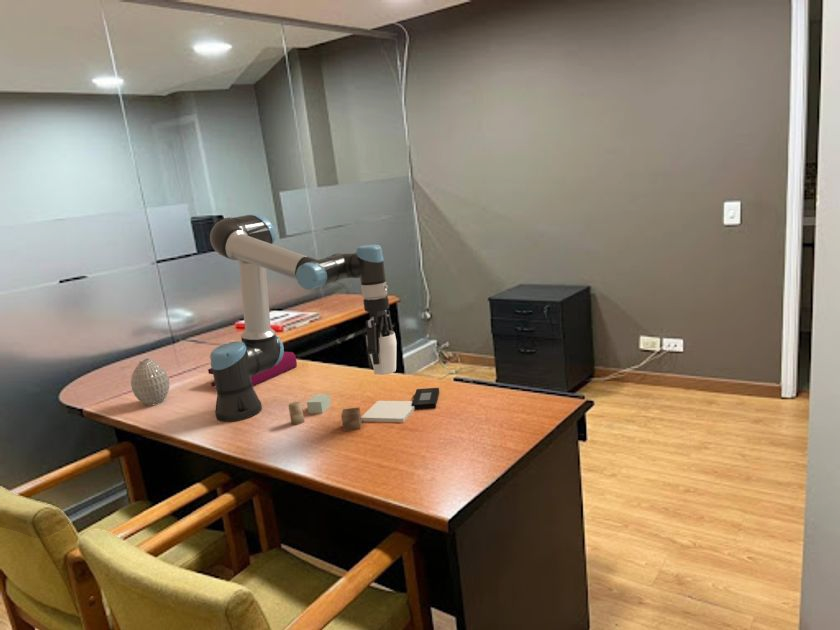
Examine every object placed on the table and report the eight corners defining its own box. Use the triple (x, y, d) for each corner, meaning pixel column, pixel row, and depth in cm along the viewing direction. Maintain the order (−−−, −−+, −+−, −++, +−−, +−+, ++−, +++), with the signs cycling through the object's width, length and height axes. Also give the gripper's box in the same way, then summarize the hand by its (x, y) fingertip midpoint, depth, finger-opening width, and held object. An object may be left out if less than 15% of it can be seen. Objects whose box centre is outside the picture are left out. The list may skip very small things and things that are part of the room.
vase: (130, 405, 231) (120, 362, 228) (163, 394, 240) (154, 352, 236) (144, 411, 222) (135, 367, 219) (178, 399, 231) (169, 356, 228)
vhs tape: (412, 411, 195) (411, 405, 194) (417, 394, 208) (416, 389, 208) (435, 409, 194) (435, 403, 193) (439, 393, 207) (438, 387, 207)
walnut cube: (343, 431, 184) (341, 415, 183) (345, 424, 189) (343, 409, 188) (360, 429, 184) (358, 413, 183) (361, 422, 189) (359, 407, 188)
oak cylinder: (289, 424, 194) (286, 406, 193) (295, 419, 198) (292, 401, 196) (300, 425, 193) (297, 406, 191) (306, 419, 196) (303, 402, 195)
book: (298, 368, 255) (295, 350, 254) (246, 391, 233) (242, 372, 231) (262, 364, 267) (259, 348, 265) (209, 387, 244) (205, 368, 243)
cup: (396, 375, 186) (391, 337, 183) (367, 376, 188) (362, 338, 185) (402, 366, 194) (398, 329, 192) (375, 367, 196) (370, 330, 194)
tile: (361, 421, 190) (360, 417, 190) (378, 404, 203) (378, 400, 202) (403, 422, 185) (403, 418, 185) (418, 404, 198) (418, 401, 198)
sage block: (308, 413, 202) (306, 402, 201) (317, 405, 209) (315, 394, 208) (322, 413, 201) (320, 402, 200) (331, 405, 207) (329, 394, 206)
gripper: (373, 304, 175) (383, 380, 180) (399, 289, 194) (408, 358, 199) (348, 305, 177) (359, 380, 182) (377, 290, 197) (386, 358, 202)
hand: (384, 368), depth 191 cm, fingers closed on cup, 9 cm apart
